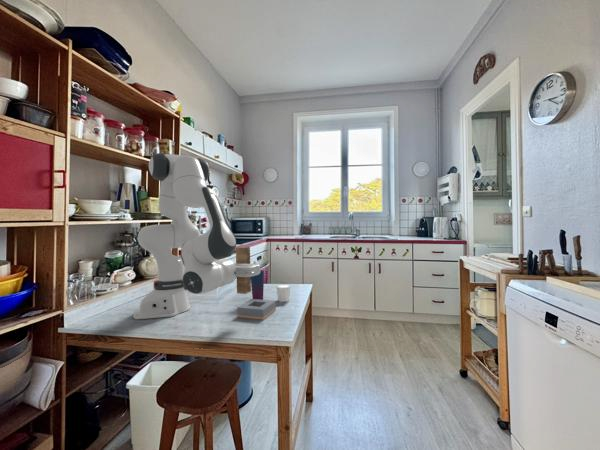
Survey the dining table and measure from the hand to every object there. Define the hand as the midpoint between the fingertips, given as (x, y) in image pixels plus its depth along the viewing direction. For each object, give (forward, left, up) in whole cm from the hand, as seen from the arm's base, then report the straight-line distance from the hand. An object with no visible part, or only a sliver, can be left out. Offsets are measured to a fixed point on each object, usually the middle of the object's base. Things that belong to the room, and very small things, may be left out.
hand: (244, 265), depth 106 cm
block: (-1, -1, -11) cm, 11 cm away
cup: (+10, +22, -22) cm, 32 cm away
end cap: (+6, +5, -22) cm, 23 cm away
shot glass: (+22, +18, -22) cm, 35 cm away
